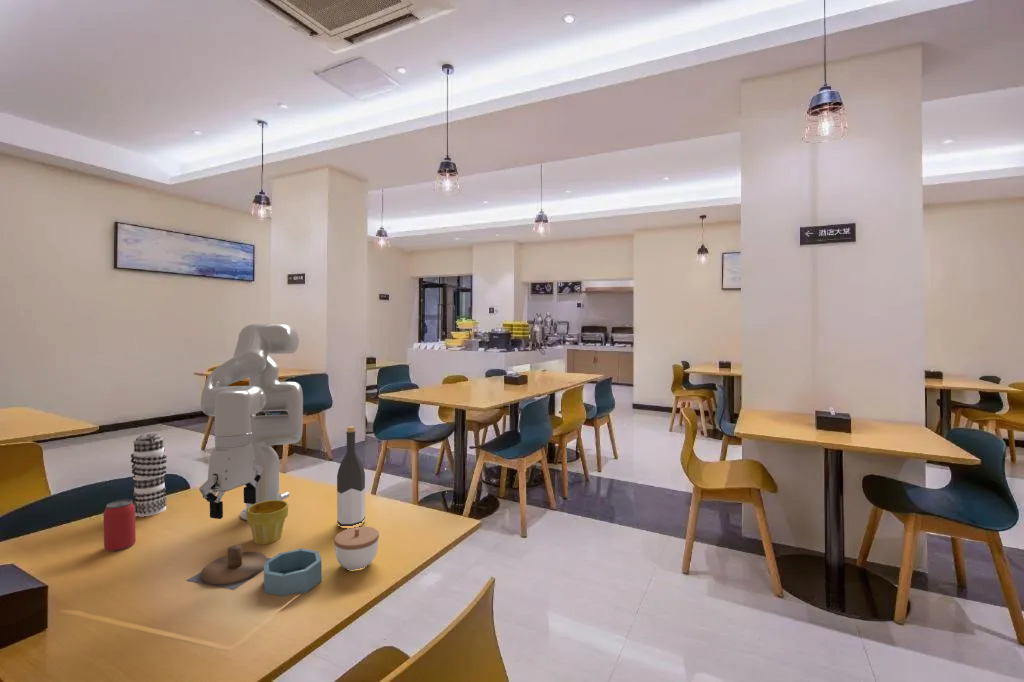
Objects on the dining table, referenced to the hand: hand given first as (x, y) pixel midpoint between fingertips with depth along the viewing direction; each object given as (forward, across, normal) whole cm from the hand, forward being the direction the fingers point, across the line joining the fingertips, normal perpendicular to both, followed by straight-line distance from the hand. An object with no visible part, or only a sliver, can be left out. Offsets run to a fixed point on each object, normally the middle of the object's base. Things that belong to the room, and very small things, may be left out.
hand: (233, 510), depth 113 cm
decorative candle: (+15, -23, -57) cm, 63 cm away
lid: (+15, -1, 0) cm, 15 cm away
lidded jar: (+16, -12, +27) cm, 33 cm away
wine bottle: (+15, -33, +11) cm, 38 cm away
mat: (+16, -1, 0) cm, 16 cm away
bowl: (+16, -1, +17) cm, 23 cm away
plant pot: (+16, -17, -5) cm, 23 cm away
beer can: (+15, -3, -41) cm, 44 cm away
